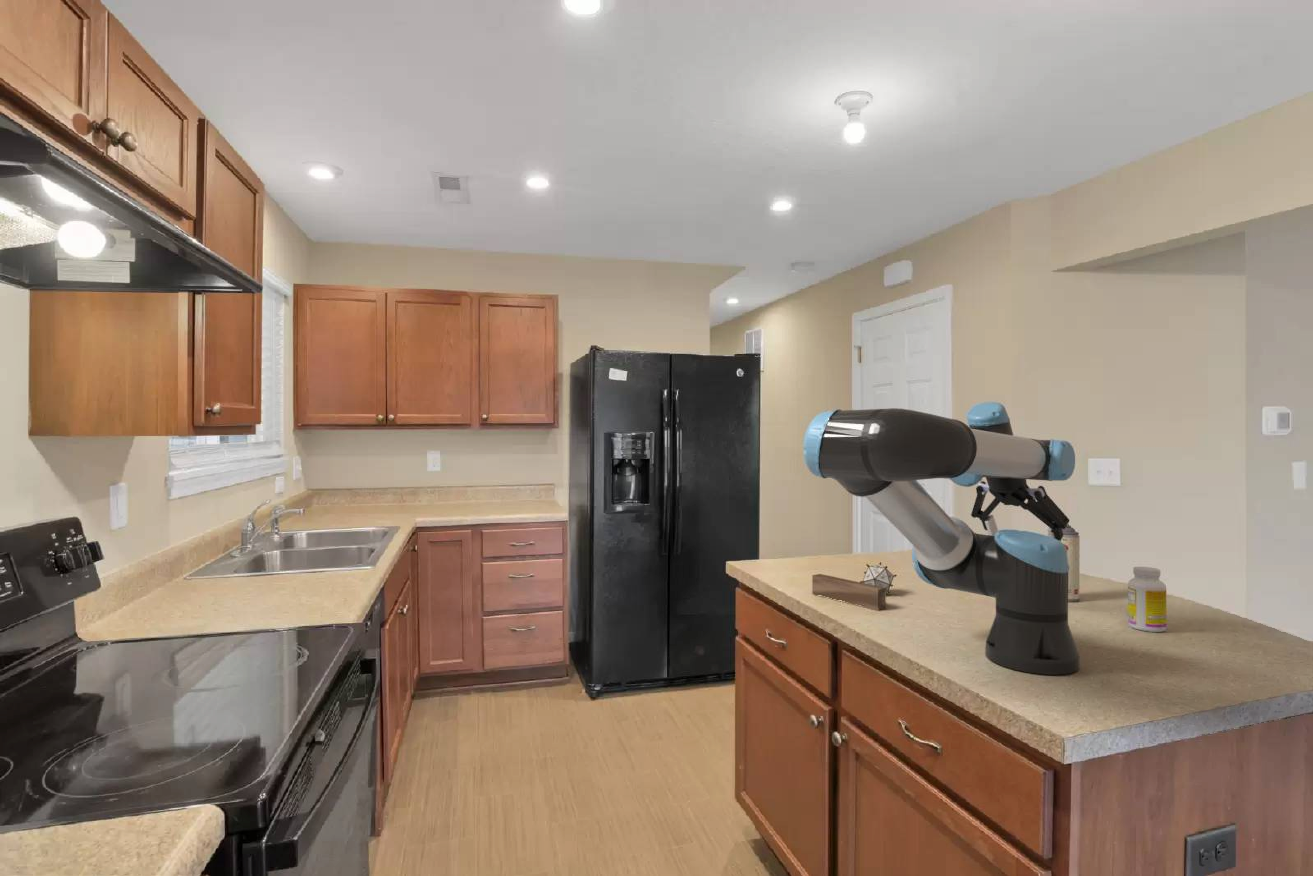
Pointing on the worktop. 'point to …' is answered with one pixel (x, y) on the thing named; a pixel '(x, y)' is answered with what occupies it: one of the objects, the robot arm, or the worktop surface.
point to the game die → (878, 576)
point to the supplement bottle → (1147, 600)
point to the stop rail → (849, 591)
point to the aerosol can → (1072, 561)
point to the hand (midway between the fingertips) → (1026, 545)
